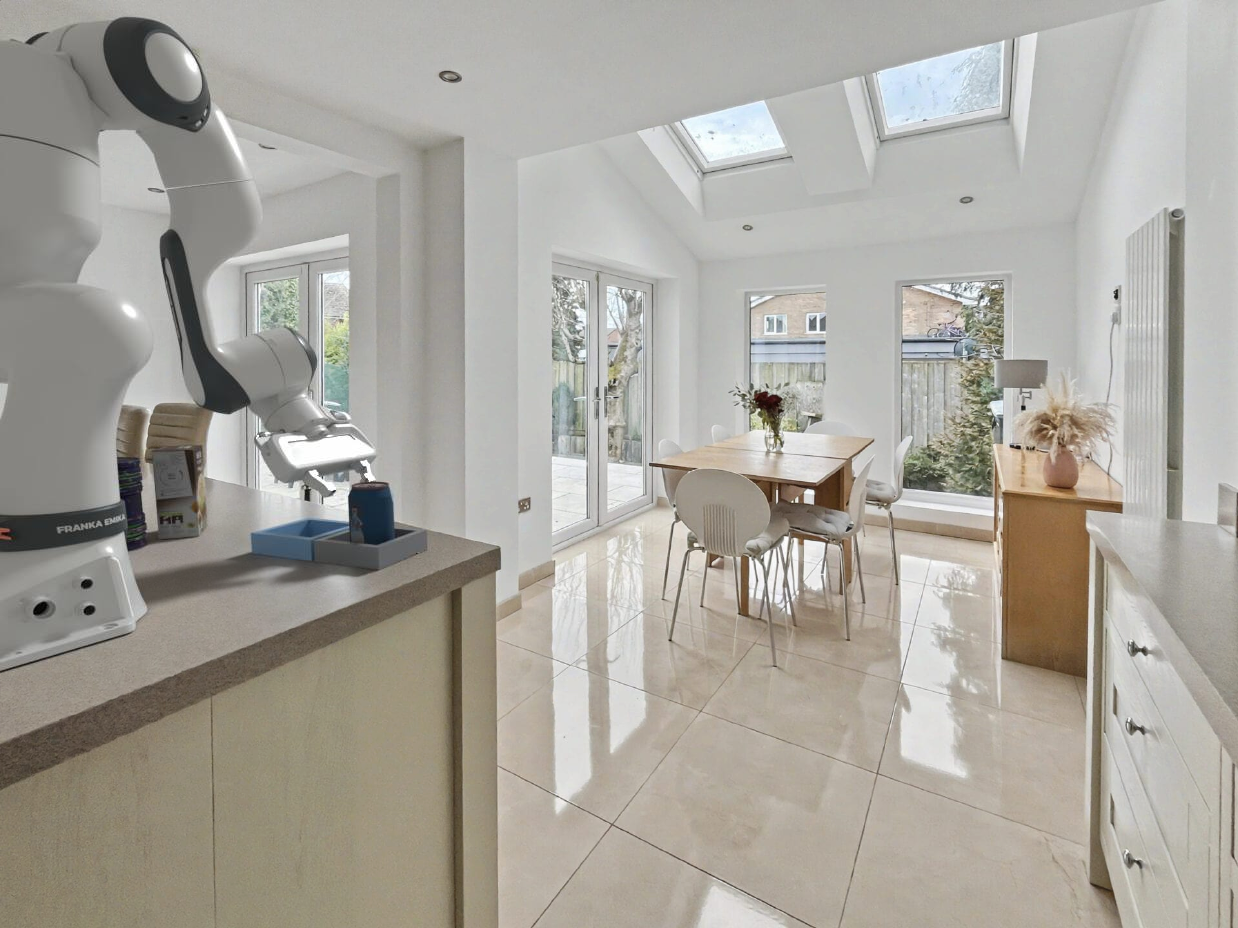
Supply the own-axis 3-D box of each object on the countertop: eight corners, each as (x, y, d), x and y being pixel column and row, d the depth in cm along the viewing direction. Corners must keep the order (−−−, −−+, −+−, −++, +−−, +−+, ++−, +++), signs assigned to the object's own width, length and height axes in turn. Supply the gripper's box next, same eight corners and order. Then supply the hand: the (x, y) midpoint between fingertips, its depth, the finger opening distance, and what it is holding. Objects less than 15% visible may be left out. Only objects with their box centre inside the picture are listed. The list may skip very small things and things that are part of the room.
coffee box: (200, 536, 115) (193, 449, 112) (158, 540, 112) (150, 450, 110) (209, 525, 123) (202, 444, 121) (169, 528, 120) (162, 445, 118)
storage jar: (62, 550, 104) (52, 461, 102) (130, 537, 113) (122, 455, 111) (91, 559, 100) (82, 466, 98) (160, 545, 108) (152, 459, 106)
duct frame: (379, 569, 96) (378, 547, 96) (252, 553, 104) (250, 532, 104) (427, 549, 108) (426, 529, 108) (309, 536, 116) (308, 517, 116)
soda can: (398, 549, 108) (396, 480, 107) (390, 560, 101) (388, 487, 100) (356, 550, 107) (353, 481, 105) (345, 562, 100) (342, 488, 99)
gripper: (258, 419, 95) (314, 487, 93) (353, 412, 114) (401, 468, 113) (238, 447, 97) (292, 514, 95) (335, 435, 116) (381, 491, 115)
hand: (351, 489), depth 104 cm, fingers open, 8 cm apart
